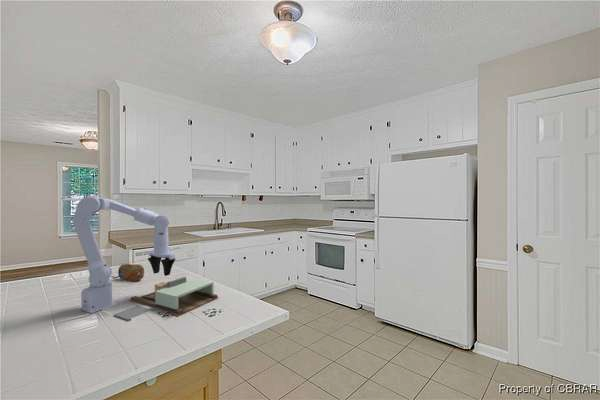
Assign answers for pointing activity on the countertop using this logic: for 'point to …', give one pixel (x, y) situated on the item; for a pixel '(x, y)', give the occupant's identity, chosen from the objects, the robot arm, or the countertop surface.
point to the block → (160, 286)
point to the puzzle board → (184, 302)
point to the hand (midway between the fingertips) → (161, 274)
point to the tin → (131, 272)
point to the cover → (181, 291)
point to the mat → (132, 312)
